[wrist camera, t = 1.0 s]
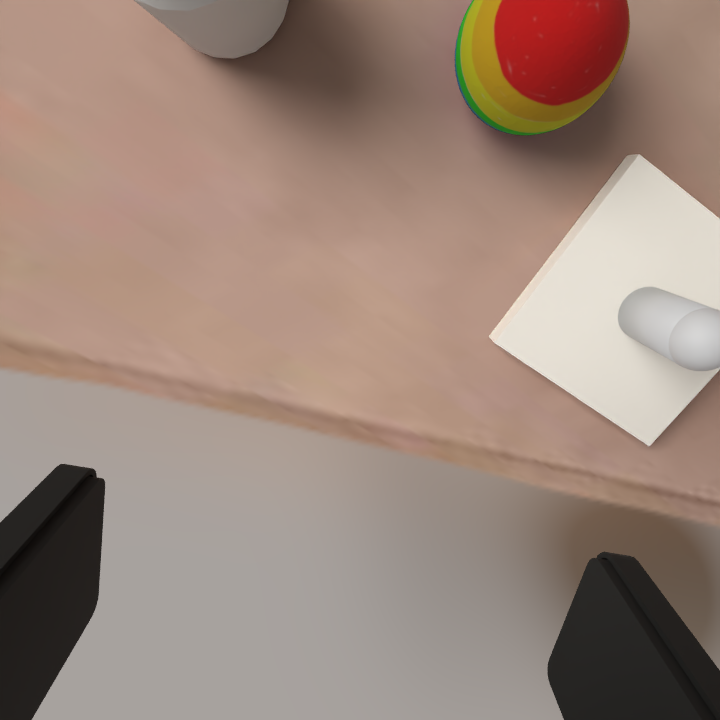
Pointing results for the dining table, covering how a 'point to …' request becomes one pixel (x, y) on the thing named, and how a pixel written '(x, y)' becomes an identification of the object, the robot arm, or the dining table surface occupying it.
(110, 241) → the dining table surface
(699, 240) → the post board
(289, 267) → the dining table surface
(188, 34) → the can
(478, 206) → the dining table surface
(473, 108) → the decorative egg
